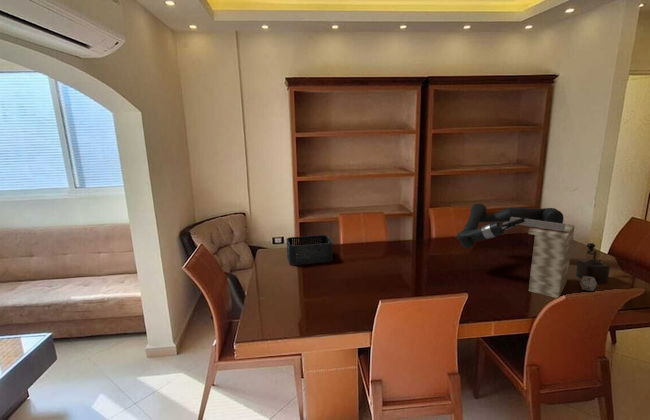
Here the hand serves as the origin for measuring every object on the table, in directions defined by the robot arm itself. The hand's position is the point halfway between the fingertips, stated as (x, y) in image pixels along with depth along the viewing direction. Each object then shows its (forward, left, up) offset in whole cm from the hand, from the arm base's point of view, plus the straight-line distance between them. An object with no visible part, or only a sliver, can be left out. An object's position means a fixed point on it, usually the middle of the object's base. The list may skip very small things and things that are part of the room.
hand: (524, 219), depth 180 cm
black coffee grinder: (-42, -10, -36) cm, 56 cm away
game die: (-31, +7, -36) cm, 48 cm away
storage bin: (+118, -34, -36) cm, 128 cm away
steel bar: (-4, +3, -3) cm, 6 cm away
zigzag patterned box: (-13, +2, -36) cm, 38 cm away
